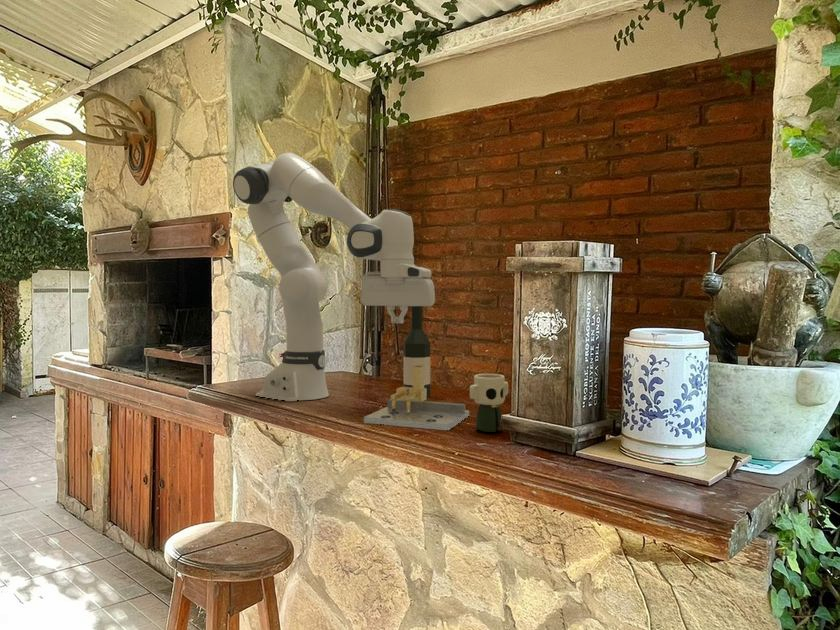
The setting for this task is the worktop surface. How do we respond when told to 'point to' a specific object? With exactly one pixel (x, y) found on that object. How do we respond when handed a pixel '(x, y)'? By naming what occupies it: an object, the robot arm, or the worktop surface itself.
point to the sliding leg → (417, 388)
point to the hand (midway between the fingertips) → (397, 323)
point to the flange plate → (418, 413)
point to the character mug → (489, 400)
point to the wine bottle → (416, 350)
